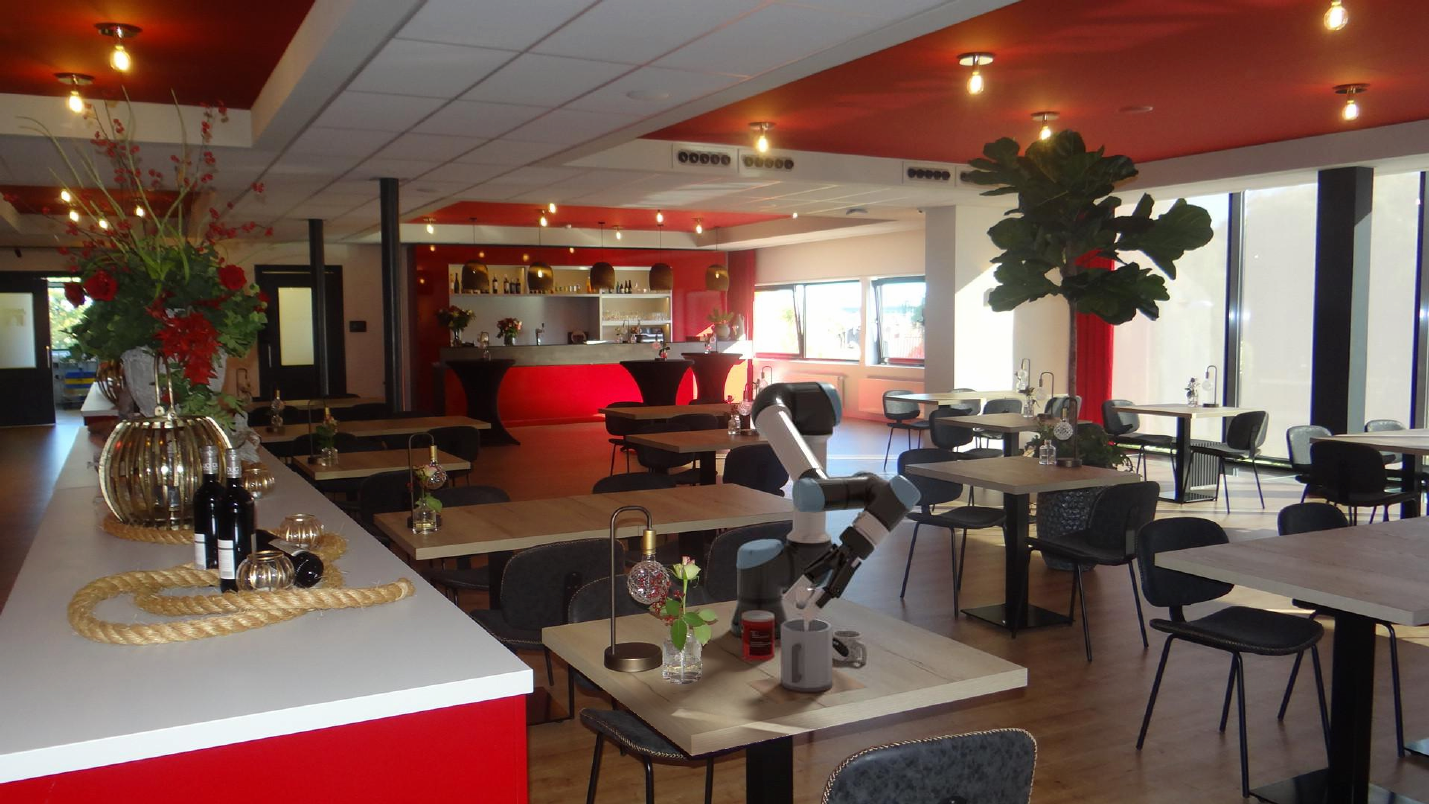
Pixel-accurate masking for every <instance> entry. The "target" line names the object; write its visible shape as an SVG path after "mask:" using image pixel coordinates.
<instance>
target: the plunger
mask: <svg viewBox="0 0 1429 804" xmlns="http://www.w3.org/2000/svg"><path fill="white" fill-rule="evenodd" d="M817 589H818V587H817V588H815V587H811V586H801V587H797V588H796V602H795V608H796V609H798V610H801V611H802V610H803V609H804V608H805V607H806V606H807V605H808V604H809V603H810V601H811V600H812V599H813V598H814V597H815V596H816V595H817V594H818V593H817ZM803 618H804V632H809V620H808V619H807V618H806V617H805V616H804V615H803Z"/></svg>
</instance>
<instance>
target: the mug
mask: <svg viewBox="0 0 1429 804" xmlns="http://www.w3.org/2000/svg"><path fill="white" fill-rule="evenodd" d="M867 650H868V649H867V646H866V645H865V643H864V642H862V634H861V633H860V632H859V631H856V630H849V629H841V630H840V629H839V630H835V631H832V659H834V660H837V661H840V662H855V663H859V664H864V665H865V664H866V663H867V659H868V651H867Z"/></svg>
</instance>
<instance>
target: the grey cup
mask: <svg viewBox="0 0 1429 804" xmlns="http://www.w3.org/2000/svg"><path fill="white" fill-rule="evenodd" d="M832 633H833V625H832V623H830V622H829V621H825V620H822V619H817V618H813V620H812V621H811V622H810V621H809V632H804V617H803V618H793V619H788V620H787V621H785V622H783V623H782V624H781V637H780V677H781V687H782V688H784V689H785V690H788V691H791V692H795V693H802V694H814V693H821V692H825V691H828V690H830V689H831V688H832V686H833V679H832V668H833V657H832Z"/></svg>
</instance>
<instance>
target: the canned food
mask: <svg viewBox="0 0 1429 804" xmlns="http://www.w3.org/2000/svg"><path fill="white" fill-rule="evenodd" d="M741 656H742V658H743V659H746V660H748V661H749V660H750V661H756V662H759V661H761V662H762V661H763V662H764V661H768V660H769V661H770V660H772V659H774V658H775V638H774V614H773V613H771V612H768V611H761V610H754V611H747V612H744V613H743V614H742V638H741Z"/></svg>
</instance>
